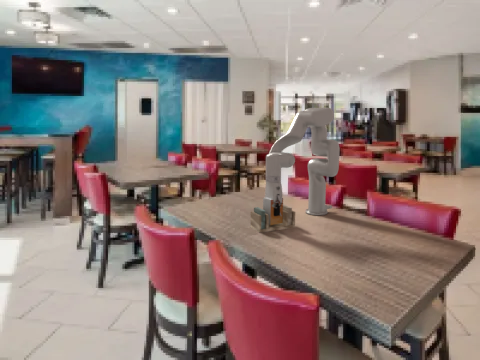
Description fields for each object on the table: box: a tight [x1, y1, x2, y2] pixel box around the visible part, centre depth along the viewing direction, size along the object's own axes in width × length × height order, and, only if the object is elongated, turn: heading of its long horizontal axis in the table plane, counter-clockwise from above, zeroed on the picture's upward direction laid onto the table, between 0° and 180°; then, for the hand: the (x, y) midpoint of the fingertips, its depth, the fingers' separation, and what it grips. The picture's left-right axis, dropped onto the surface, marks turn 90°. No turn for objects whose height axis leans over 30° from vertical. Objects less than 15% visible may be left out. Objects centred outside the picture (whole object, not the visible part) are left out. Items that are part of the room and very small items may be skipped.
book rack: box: [250, 203, 296, 233], centre depth 191 cm, size 20×10×10 cm, turn 114°
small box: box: [262, 197, 284, 225], centre depth 190 cm, size 8×6×13 cm
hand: (273, 213), depth 191 cm, fingers closed on small box, 6 cm apart
